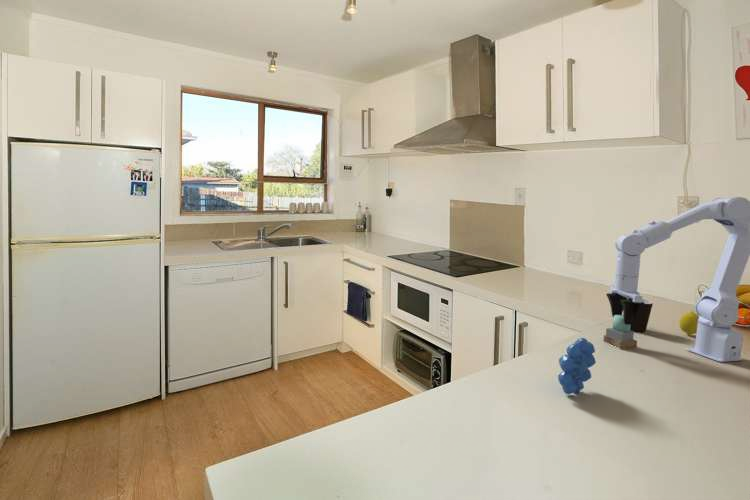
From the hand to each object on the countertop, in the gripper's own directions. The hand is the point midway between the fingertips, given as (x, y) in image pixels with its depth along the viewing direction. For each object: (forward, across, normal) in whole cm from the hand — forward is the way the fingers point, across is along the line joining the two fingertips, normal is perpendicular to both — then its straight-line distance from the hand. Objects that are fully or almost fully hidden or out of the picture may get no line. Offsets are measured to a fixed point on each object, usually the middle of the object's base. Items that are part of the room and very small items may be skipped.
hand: (622, 320), depth 118 cm
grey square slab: (+5, 0, 0) cm, 5 cm away
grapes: (+8, +34, -26) cm, 43 cm away
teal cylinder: (+3, 0, 0) cm, 3 cm away
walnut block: (+8, 0, 0) cm, 8 cm away
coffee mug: (+8, -19, +13) cm, 24 cm away
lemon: (+8, -14, +28) cm, 32 cm away
